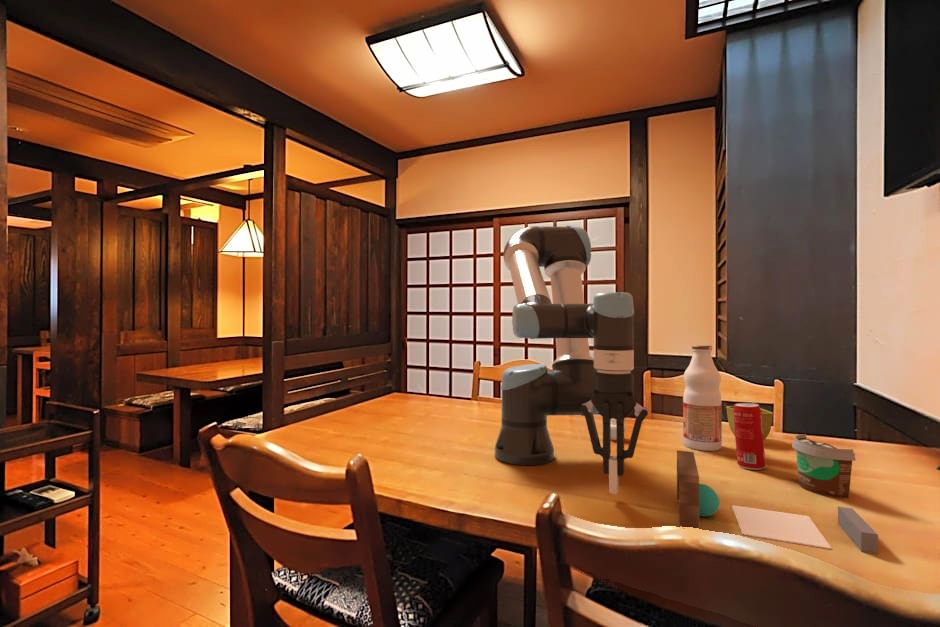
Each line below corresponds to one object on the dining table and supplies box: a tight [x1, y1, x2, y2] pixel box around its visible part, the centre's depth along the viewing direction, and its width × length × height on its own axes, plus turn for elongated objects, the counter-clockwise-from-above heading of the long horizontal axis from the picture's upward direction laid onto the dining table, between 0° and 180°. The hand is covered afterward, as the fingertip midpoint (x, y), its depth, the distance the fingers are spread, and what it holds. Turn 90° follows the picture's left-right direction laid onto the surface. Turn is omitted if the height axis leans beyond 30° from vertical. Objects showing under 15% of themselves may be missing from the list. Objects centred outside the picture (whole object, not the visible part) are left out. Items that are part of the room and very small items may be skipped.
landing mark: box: [731, 504, 833, 550], centre depth 78 cm, size 12×12×1 cm
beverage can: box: [733, 402, 767, 471], centre depth 108 cm, size 6×6×15 cm
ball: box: [699, 483, 720, 517], centre depth 82 cm, size 6×6×6 cm
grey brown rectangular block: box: [676, 449, 700, 529], centre depth 84 cm, size 3×14×9 cm, turn 157°
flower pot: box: [725, 405, 774, 441], centre depth 130 cm, size 9×9×9 cm
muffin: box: [611, 418, 626, 441], centre depth 133 cm, size 6×6×7 cm
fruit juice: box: [682, 344, 723, 452], centre depth 125 cm, size 9×9×28 cm
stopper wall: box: [837, 506, 879, 555], centre depth 74 cm, size 2×10×3 cm, turn 157°
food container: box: [791, 433, 856, 499], centre depth 94 cm, size 12×6×10 cm, turn 5°
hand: (613, 491), depth 89 cm, fingers closed
